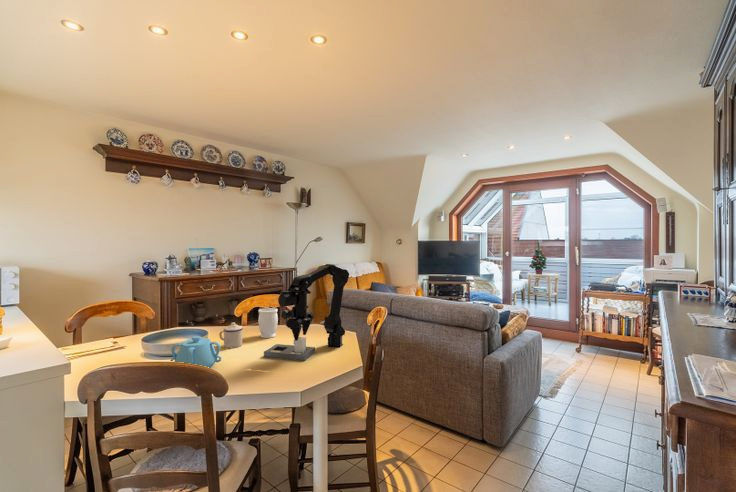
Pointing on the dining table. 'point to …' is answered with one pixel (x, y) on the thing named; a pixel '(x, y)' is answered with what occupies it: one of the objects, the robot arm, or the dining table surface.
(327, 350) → the dining table surface
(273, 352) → the grey socket board
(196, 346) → the decorative pot
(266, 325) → the jar
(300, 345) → the plug
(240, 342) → the teacup with lid
